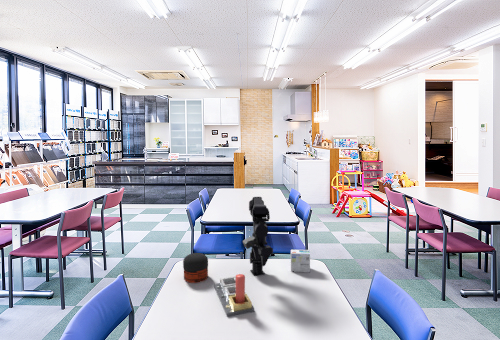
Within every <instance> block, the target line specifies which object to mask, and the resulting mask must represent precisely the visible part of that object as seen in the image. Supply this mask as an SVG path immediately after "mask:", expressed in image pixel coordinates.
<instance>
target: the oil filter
mask: <svg viewBox="0 0 500 340" xmlns="http://www.w3.org/2000/svg"><path fill="white" fill-rule="evenodd" d="M182 265H183V266H182V267H183V280H184V281H185V282H186V283H190V284H192V283H193V284H197V283H202V282H204V281H206V280H208V278H209V258H208V256H207V255H205V254H204V253H201V252H193V253H190V254H187V255H186V256H184V258H183V260H182Z"/></svg>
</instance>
